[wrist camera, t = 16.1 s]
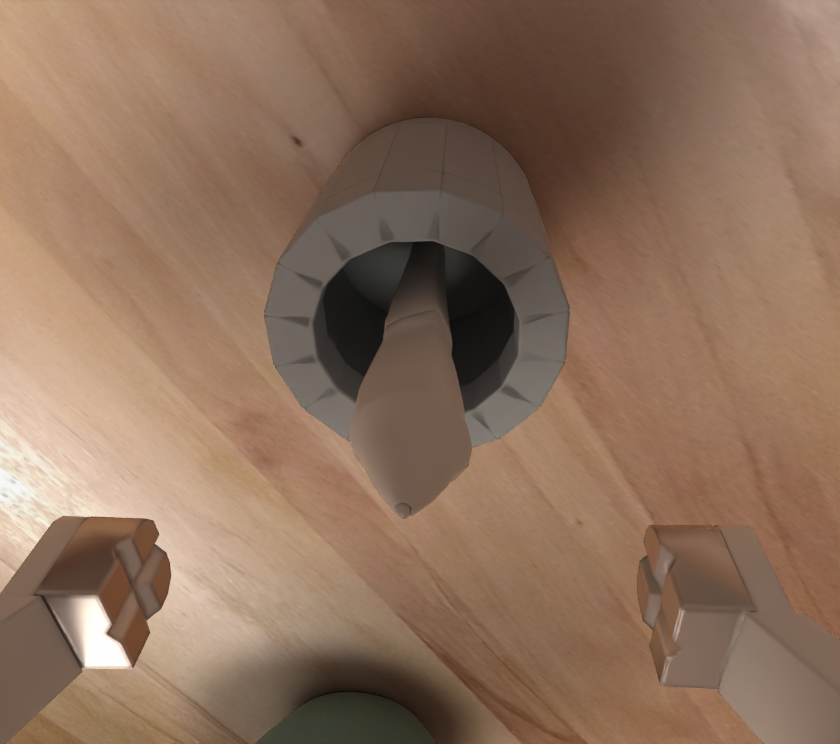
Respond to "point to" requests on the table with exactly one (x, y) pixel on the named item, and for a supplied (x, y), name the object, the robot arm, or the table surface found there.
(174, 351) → the table surface
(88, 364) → the table surface
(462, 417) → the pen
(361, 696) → the green bowl
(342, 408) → the grey faceted canister
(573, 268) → the table surface
